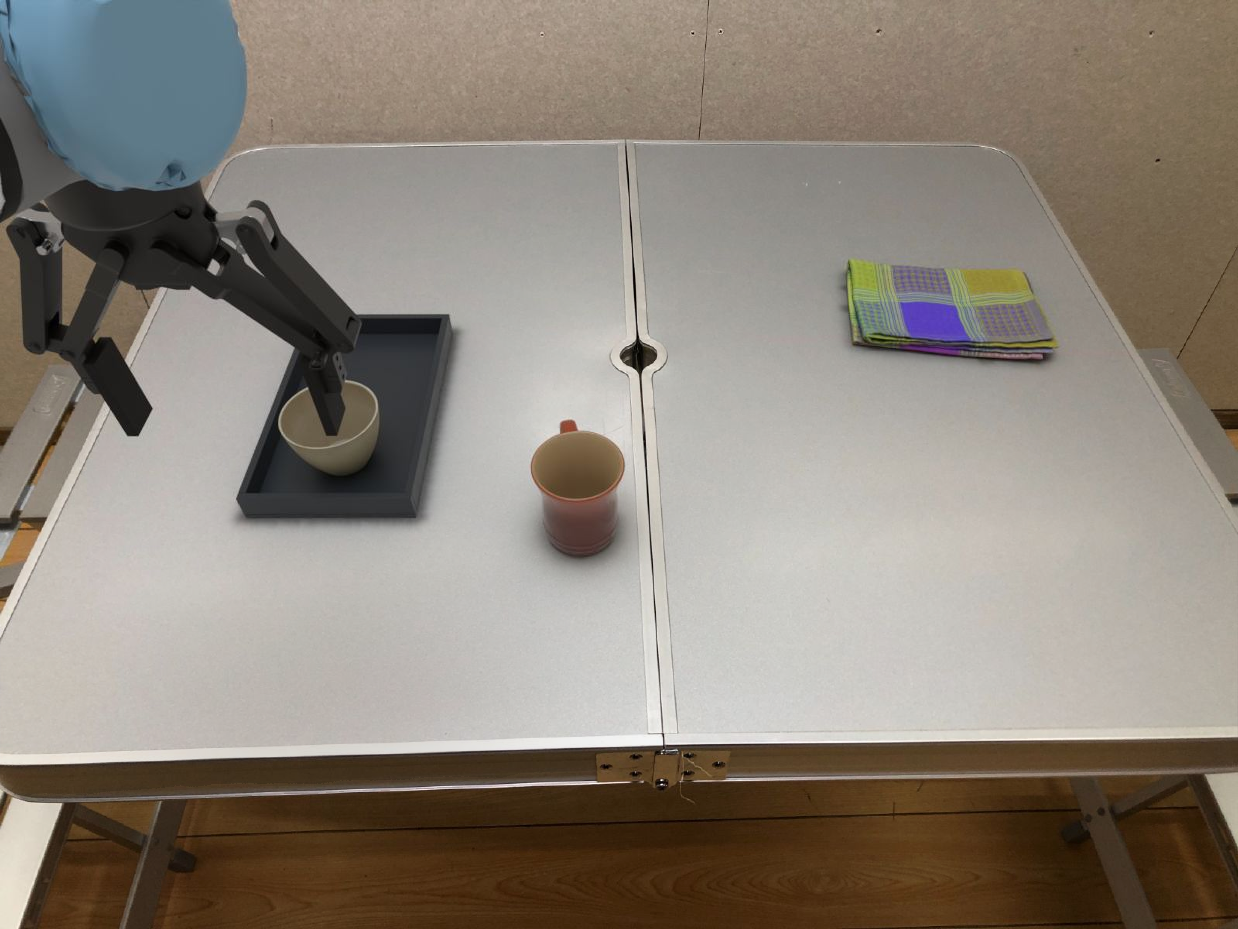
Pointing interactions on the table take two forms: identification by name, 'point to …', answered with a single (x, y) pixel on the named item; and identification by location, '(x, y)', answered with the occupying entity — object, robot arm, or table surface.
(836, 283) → the table surface
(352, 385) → the flower pot
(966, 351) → the dish towel
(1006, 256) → the table surface
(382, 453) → the tray
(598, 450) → the mug
